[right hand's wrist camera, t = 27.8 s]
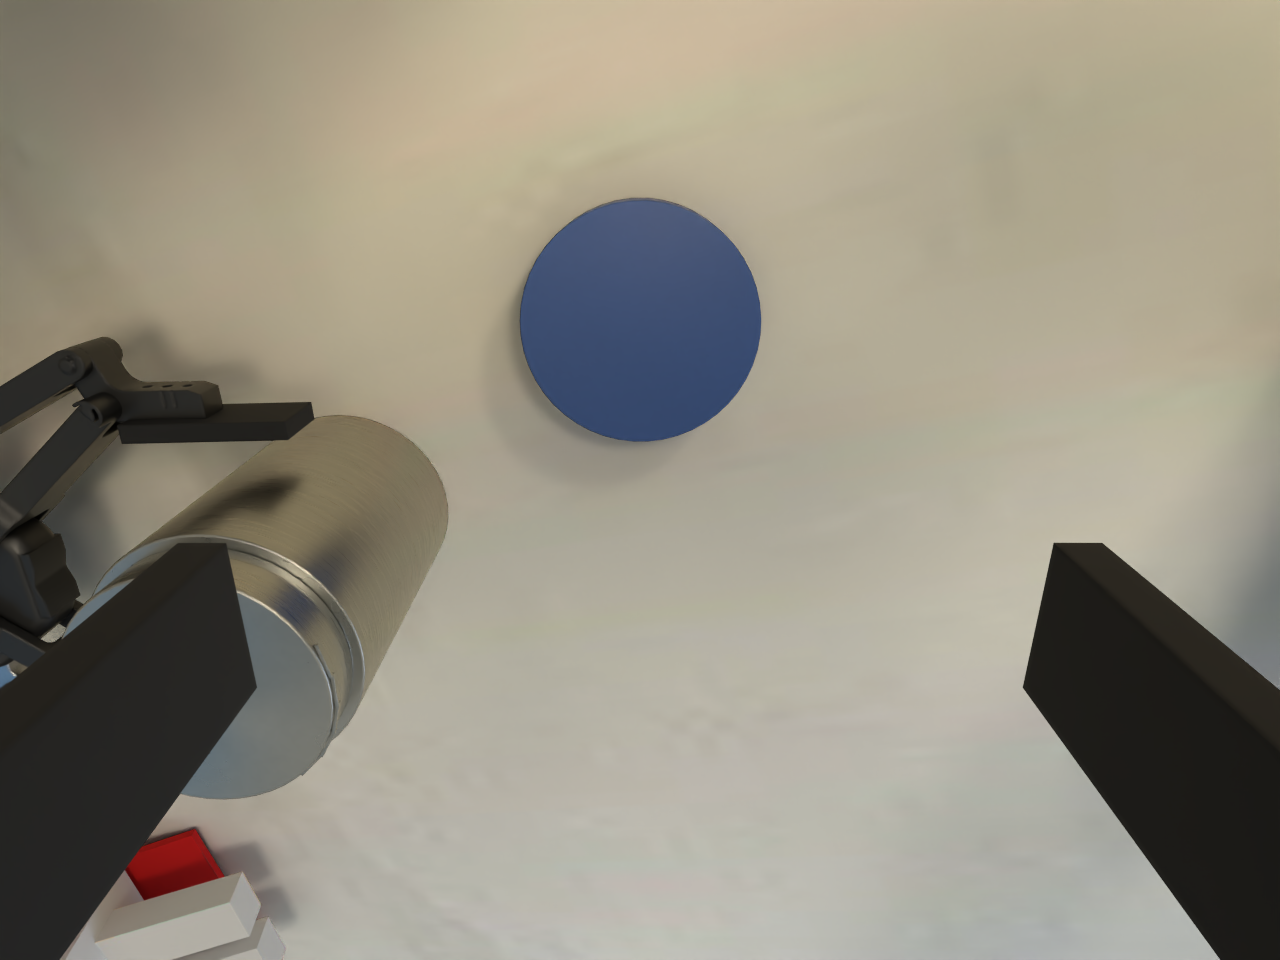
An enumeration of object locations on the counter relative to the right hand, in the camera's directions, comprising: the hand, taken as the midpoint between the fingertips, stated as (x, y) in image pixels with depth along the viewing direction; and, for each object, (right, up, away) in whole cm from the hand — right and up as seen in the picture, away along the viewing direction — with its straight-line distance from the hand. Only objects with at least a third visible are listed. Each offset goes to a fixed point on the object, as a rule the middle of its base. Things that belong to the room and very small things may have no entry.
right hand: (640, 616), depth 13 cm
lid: (0, +9, +22) cm, 24 cm away
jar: (-15, +1, +28) cm, 31 cm away
